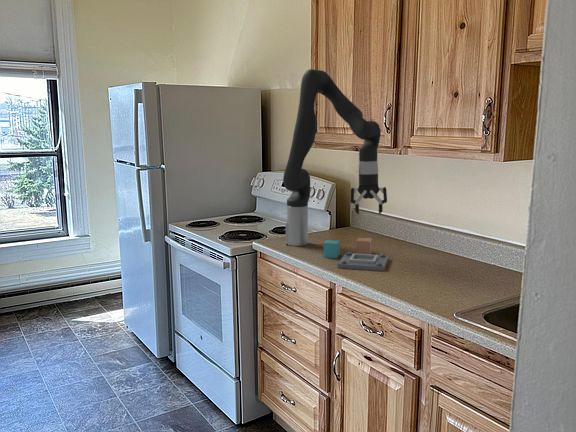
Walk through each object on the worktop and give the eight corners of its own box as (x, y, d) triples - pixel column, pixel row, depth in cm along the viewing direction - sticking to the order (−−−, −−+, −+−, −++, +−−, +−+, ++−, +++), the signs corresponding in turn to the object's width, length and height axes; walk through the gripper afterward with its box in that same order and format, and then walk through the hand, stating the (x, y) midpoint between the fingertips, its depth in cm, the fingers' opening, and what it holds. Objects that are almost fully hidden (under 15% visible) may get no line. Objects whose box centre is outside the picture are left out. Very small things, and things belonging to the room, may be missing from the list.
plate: (337, 267, 196) (337, 261, 195) (345, 256, 212) (345, 250, 211) (383, 271, 191) (384, 264, 191) (388, 259, 207) (388, 253, 207)
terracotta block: (356, 255, 214) (356, 240, 213) (358, 251, 220) (358, 237, 219) (369, 256, 213) (370, 241, 212) (371, 252, 218) (371, 238, 217)
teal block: (323, 257, 211) (323, 242, 210) (326, 254, 216) (326, 239, 215) (337, 258, 210) (337, 243, 209) (339, 255, 215) (339, 240, 214)
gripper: (387, 171, 210) (387, 212, 212) (350, 172, 212) (351, 212, 215) (386, 173, 202) (386, 215, 205) (349, 173, 205) (350, 215, 208)
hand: (368, 213), depth 210 cm, fingers open, 8 cm apart
